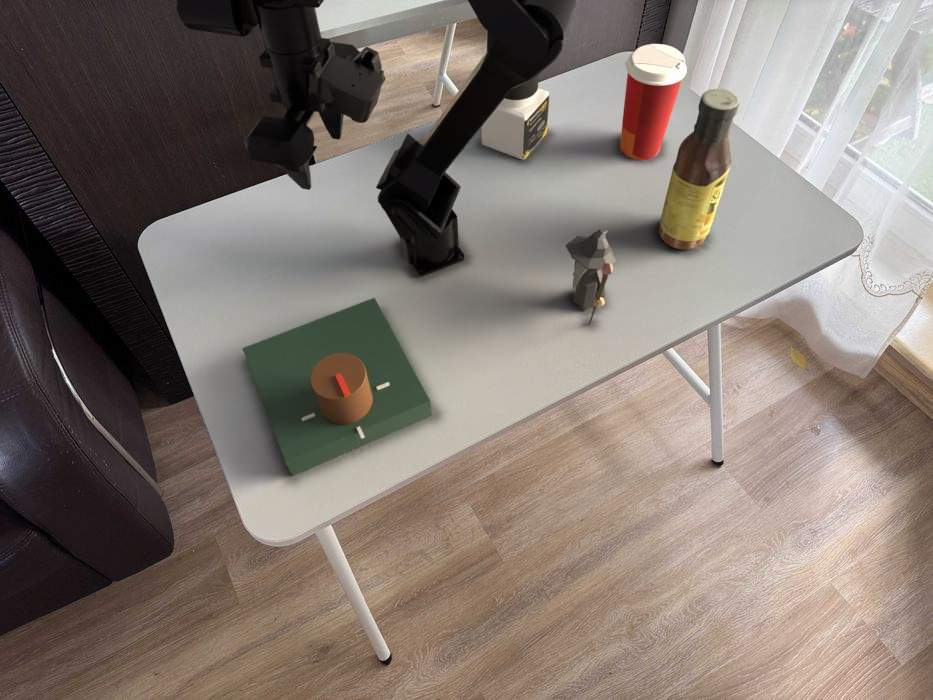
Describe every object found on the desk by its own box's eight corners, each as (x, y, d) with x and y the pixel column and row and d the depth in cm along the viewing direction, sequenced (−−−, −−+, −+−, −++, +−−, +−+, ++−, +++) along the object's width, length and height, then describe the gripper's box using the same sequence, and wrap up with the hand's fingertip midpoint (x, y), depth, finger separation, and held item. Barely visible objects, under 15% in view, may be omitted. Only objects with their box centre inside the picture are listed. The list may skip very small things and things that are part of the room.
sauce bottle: (706, 255, 90) (752, 122, 74) (655, 249, 91) (690, 116, 75) (706, 219, 94) (751, 85, 78) (658, 213, 95) (692, 80, 78)
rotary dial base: (377, 313, 86) (374, 296, 84) (436, 421, 77) (434, 406, 75) (249, 363, 82) (241, 347, 80) (294, 483, 73) (287, 469, 71)
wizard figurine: (551, 293, 87) (559, 222, 77) (589, 275, 89) (601, 203, 79) (591, 340, 83) (605, 270, 73) (630, 320, 84) (648, 249, 75)
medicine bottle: (523, 161, 101) (526, 87, 92) (480, 145, 104) (479, 71, 94) (547, 133, 105) (552, 59, 95) (505, 118, 107) (506, 44, 98)
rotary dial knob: (312, 391, 76) (301, 363, 72) (361, 371, 78) (353, 343, 73) (330, 432, 73) (320, 406, 69) (380, 411, 75) (373, 384, 70)
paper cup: (675, 141, 103) (698, 51, 92) (653, 171, 99) (674, 82, 88) (625, 123, 106) (641, 35, 94) (602, 153, 102) (616, 64, 91)
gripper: (332, 106, 65) (357, 229, 78) (398, 0, 75) (411, 124, 88) (221, 88, 67) (264, 212, 80) (301, -12, 77) (327, 111, 90)
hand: (322, 162), depth 84 cm, fingers open, 9 cm apart
